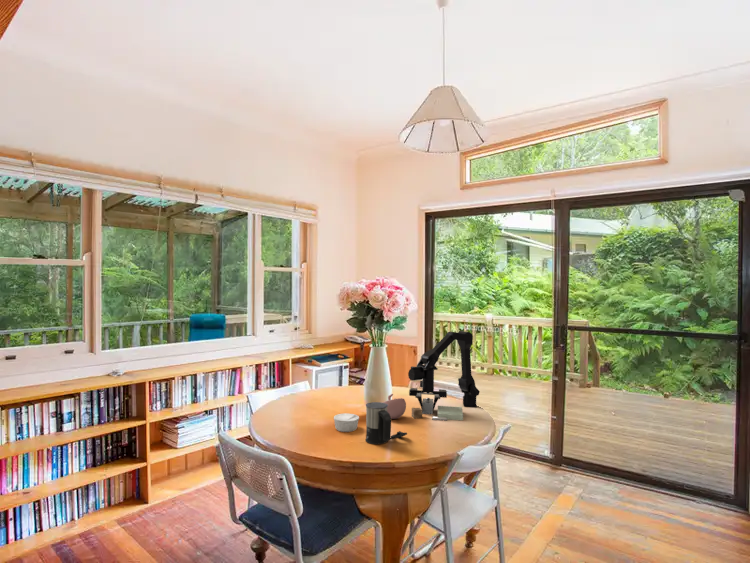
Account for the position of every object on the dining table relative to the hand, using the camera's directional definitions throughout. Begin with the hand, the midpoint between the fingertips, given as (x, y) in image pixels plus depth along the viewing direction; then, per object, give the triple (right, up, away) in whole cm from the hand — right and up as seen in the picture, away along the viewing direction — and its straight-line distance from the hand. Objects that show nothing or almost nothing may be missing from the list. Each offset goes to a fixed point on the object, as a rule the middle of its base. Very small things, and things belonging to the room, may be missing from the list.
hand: (427, 409), depth 225 cm
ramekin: (-39, -1, -28) cm, 48 cm away
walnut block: (-6, -1, -9) cm, 11 cm away
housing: (0, -1, 0) cm, 1 cm away
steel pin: (+4, -1, -14) cm, 14 cm away
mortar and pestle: (-18, -1, -11) cm, 21 cm away
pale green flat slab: (+10, -1, -5) cm, 12 cm away
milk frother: (-22, -1, -41) cm, 47 cm away
